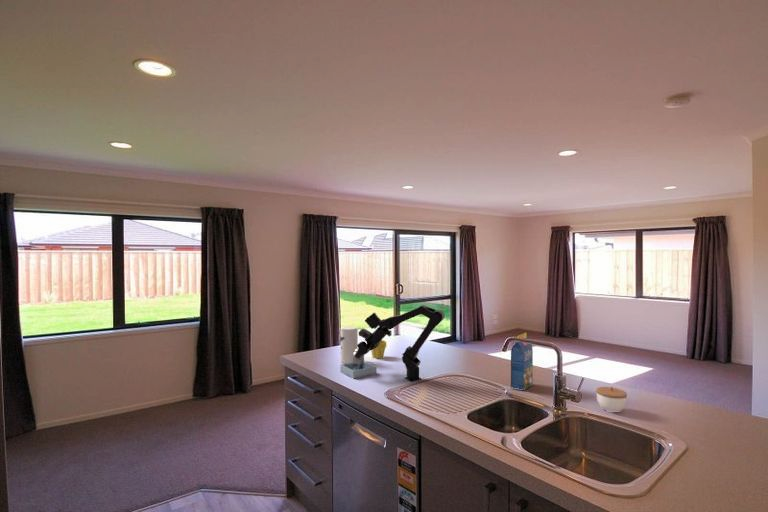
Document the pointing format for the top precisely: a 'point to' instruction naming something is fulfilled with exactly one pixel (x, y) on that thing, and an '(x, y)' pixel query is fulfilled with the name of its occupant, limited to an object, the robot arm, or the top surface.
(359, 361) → the metallic can
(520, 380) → the blue food package
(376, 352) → the plant pot
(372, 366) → the bin
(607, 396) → the lidded jar
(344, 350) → the container
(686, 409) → the top surface
